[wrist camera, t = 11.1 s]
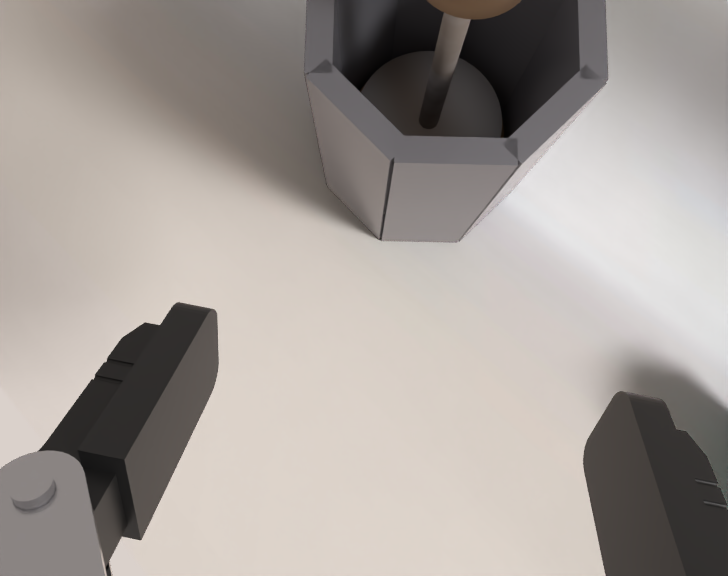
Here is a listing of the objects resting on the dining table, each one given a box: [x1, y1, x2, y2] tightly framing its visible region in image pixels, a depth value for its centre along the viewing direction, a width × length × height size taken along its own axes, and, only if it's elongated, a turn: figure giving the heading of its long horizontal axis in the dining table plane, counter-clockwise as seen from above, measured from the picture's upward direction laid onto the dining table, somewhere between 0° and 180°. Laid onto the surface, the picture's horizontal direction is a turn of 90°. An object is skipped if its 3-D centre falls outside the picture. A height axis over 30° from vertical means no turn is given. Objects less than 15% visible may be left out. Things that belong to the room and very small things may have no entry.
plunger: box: [361, 0, 522, 138], centre depth 18 cm, size 7×7×18 cm
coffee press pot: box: [304, 0, 608, 242], centre depth 24 cm, size 13×10×12 cm
